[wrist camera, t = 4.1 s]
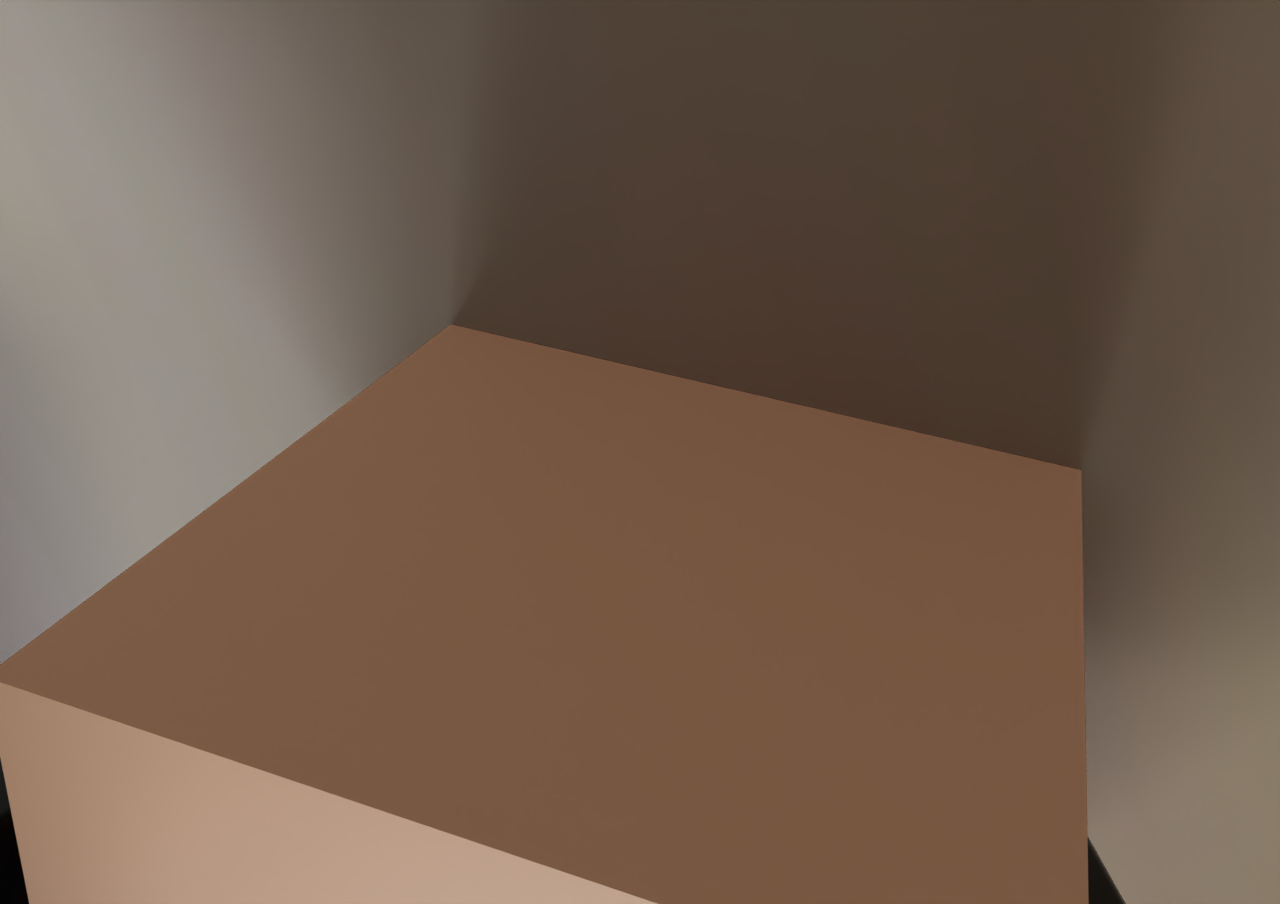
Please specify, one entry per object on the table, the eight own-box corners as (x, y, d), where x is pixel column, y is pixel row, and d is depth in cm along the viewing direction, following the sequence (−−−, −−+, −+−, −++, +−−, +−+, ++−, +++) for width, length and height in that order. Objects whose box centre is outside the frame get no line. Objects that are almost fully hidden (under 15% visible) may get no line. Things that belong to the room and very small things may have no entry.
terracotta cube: (1080, 465, 9) (1092, 1049, 4) (930, 934, 11) (843, 1608, 7) (455, 320, 10) (-15, 677, 6) (440, 775, 12) (102, 1267, 8)
